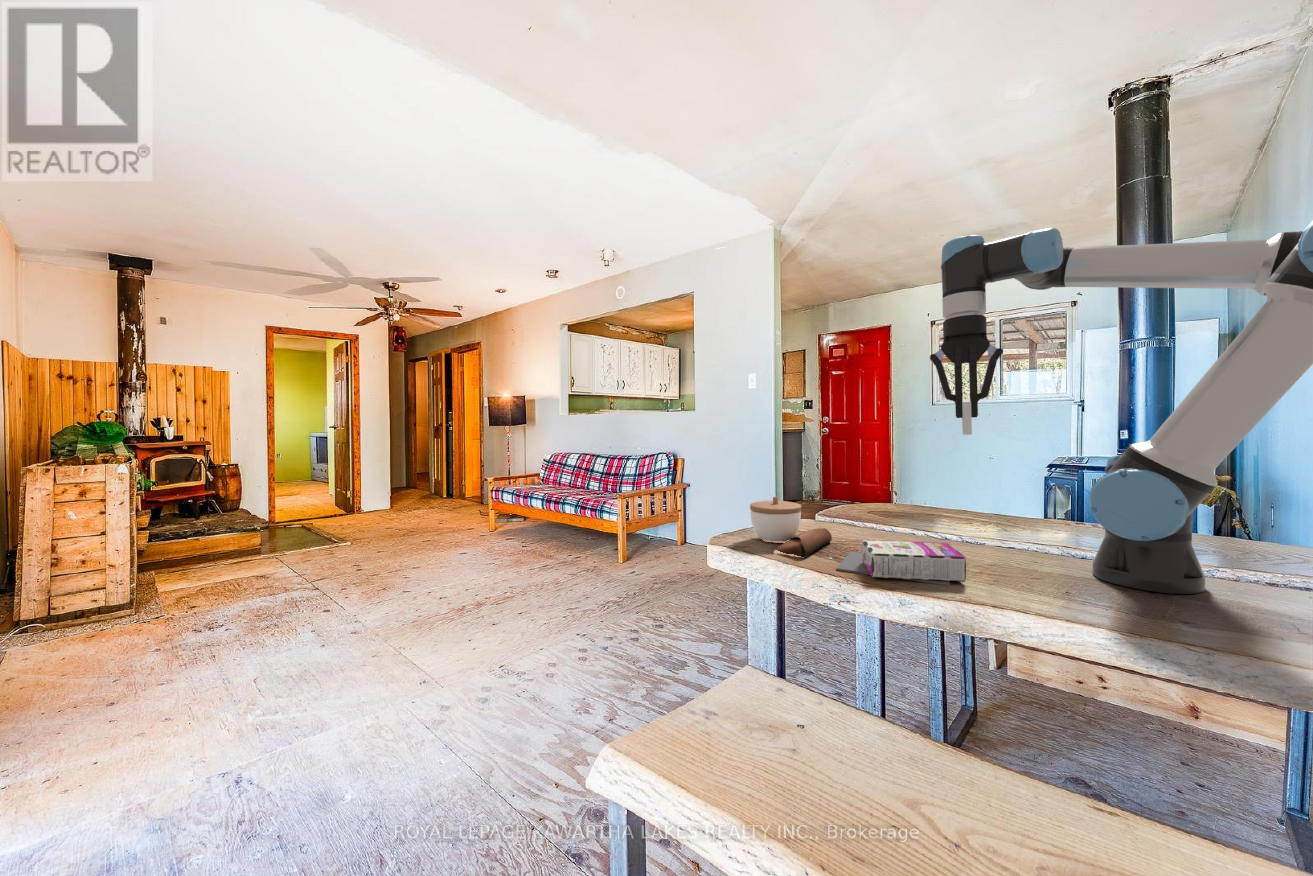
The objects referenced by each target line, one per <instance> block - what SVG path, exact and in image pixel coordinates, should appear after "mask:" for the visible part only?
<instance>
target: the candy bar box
mask: <svg viewBox="0 0 1313 876" xmlns="http://www.w3.org/2000/svg"><path fill="white" fill-rule="evenodd" d="M861 541H862V543H861V544H862V545H861V553H862V561H863V563H864V565H865V566H866V568H867V569H868V571H869V573H870V574H871V575H870V576H871V577H872V578H875V579H876V578H880V579H898V580H904V579H921V580H941V581H950V582H966V579H967V578H966V577H967V560H966V559H967V558H966V556H965V555H964V554H962V553H961V552H960V551H958V550H957V549H955V548H954V547H953V546H952V545H951V544H949V543H947V542H935V541H934V542H932V541H931V542H929V541H905V540H904V541H902V540H901V541H900V540H876V539H875V540H873V539H872V540H871V539H862V540H861Z"/></svg>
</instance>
